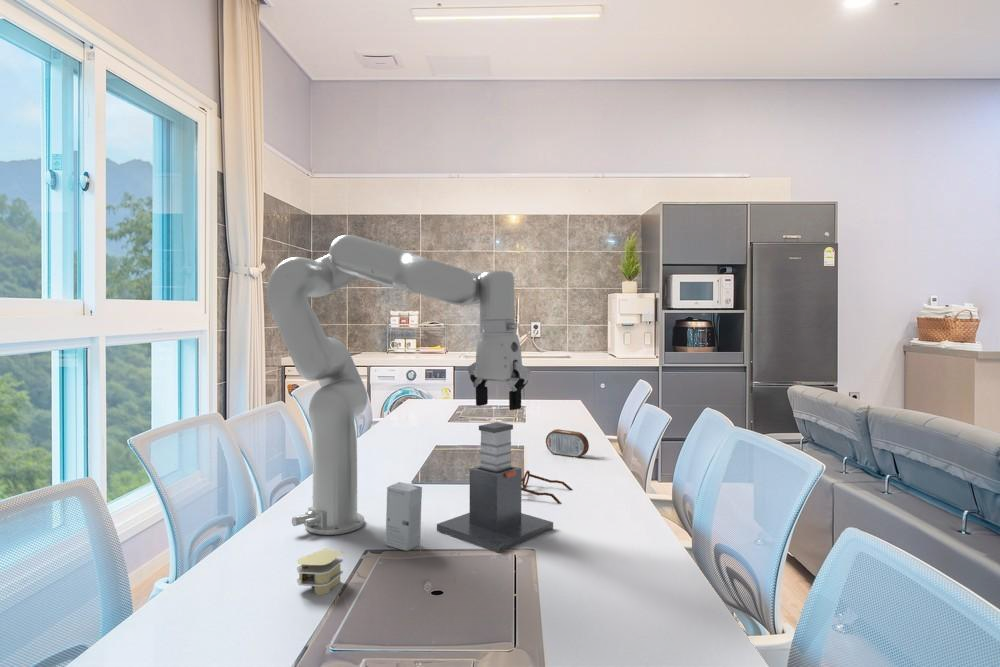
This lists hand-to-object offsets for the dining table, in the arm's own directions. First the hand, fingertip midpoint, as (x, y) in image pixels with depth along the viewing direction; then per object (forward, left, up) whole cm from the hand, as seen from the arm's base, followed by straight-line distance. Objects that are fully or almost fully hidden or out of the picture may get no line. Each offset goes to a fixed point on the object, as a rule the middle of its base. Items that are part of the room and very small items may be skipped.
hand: (498, 407), depth 130 cm
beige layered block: (-41, +4, -28) cm, 50 cm away
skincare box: (-19, +8, -27) cm, 34 cm away
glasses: (+28, +9, -28) cm, 40 cm away
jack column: (0, 0, -25) cm, 25 cm away
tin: (+68, +29, -27) cm, 79 cm away
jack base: (0, 0, -27) cm, 27 cm away
